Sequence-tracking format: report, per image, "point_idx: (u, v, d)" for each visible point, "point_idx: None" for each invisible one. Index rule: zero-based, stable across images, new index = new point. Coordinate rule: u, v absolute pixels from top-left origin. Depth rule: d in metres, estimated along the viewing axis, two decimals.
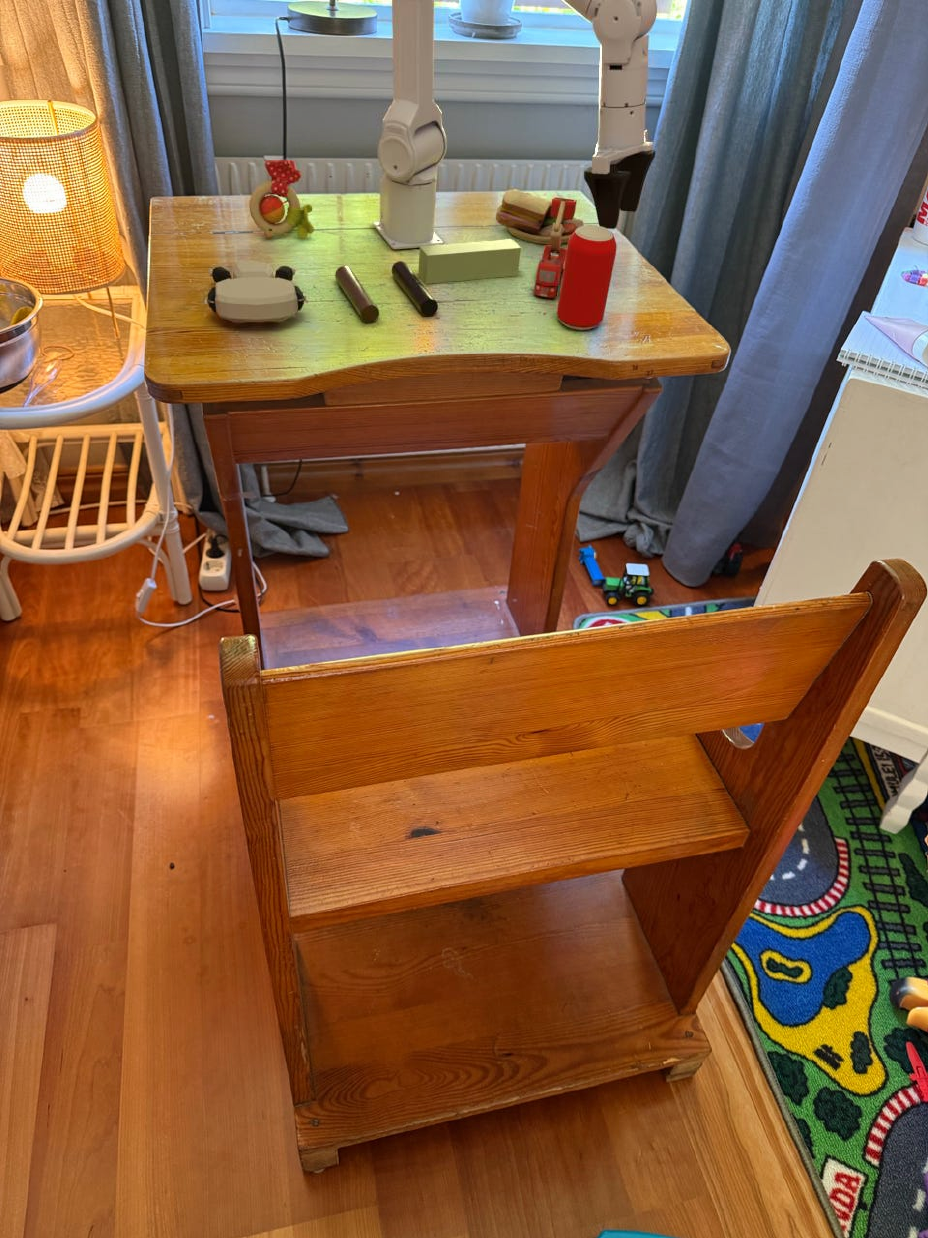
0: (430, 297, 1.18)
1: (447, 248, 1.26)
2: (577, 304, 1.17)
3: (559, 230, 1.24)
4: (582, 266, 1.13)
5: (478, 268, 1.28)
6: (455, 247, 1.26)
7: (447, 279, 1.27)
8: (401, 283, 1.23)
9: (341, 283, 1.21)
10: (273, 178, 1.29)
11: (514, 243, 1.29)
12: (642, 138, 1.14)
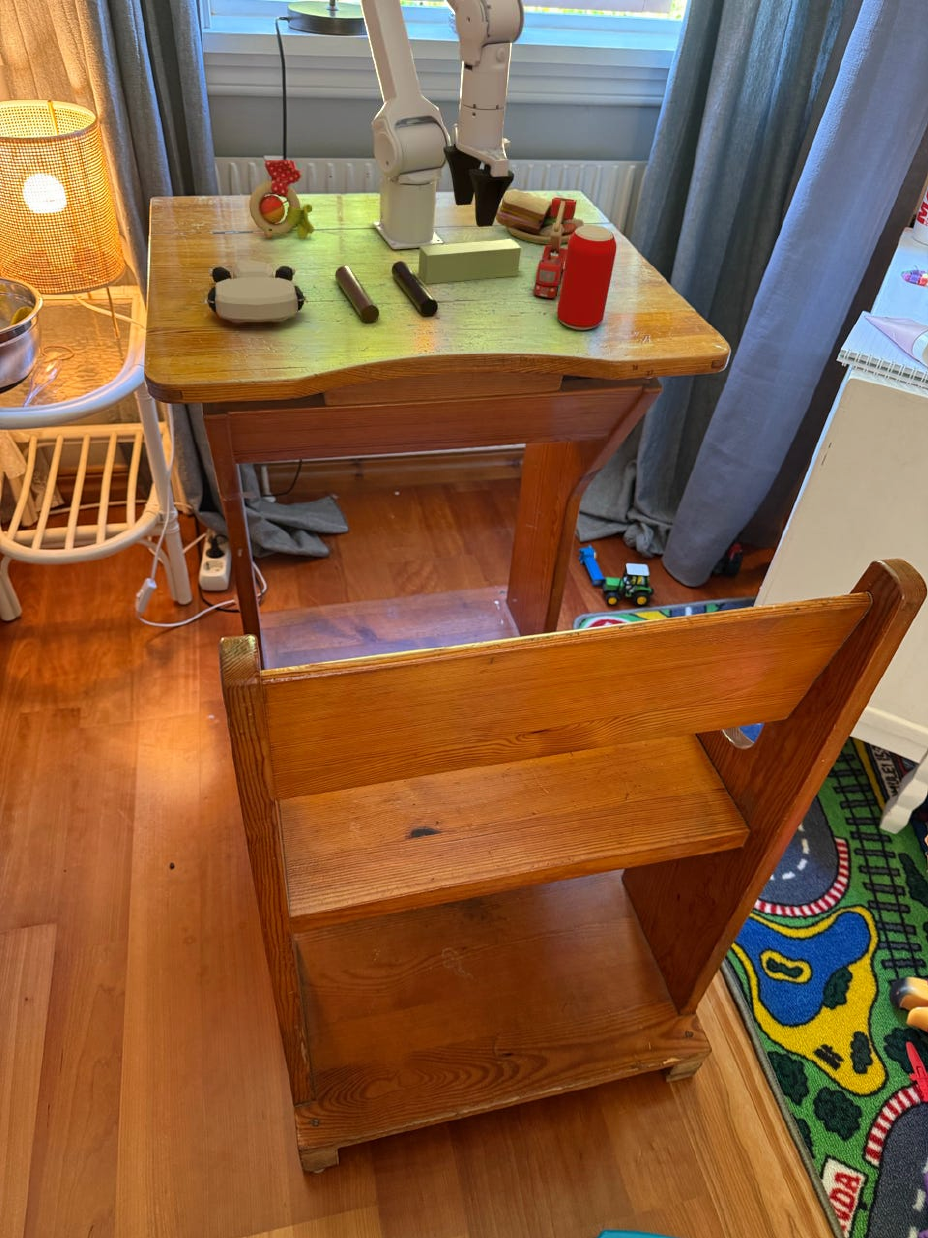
0: (430, 297, 1.18)
1: (447, 248, 1.26)
2: (577, 304, 1.17)
3: (559, 230, 1.24)
4: (582, 266, 1.13)
5: (478, 268, 1.28)
6: (455, 247, 1.26)
7: (447, 279, 1.27)
8: (401, 283, 1.23)
9: (341, 283, 1.21)
10: (273, 178, 1.29)
11: (514, 243, 1.29)
12: None
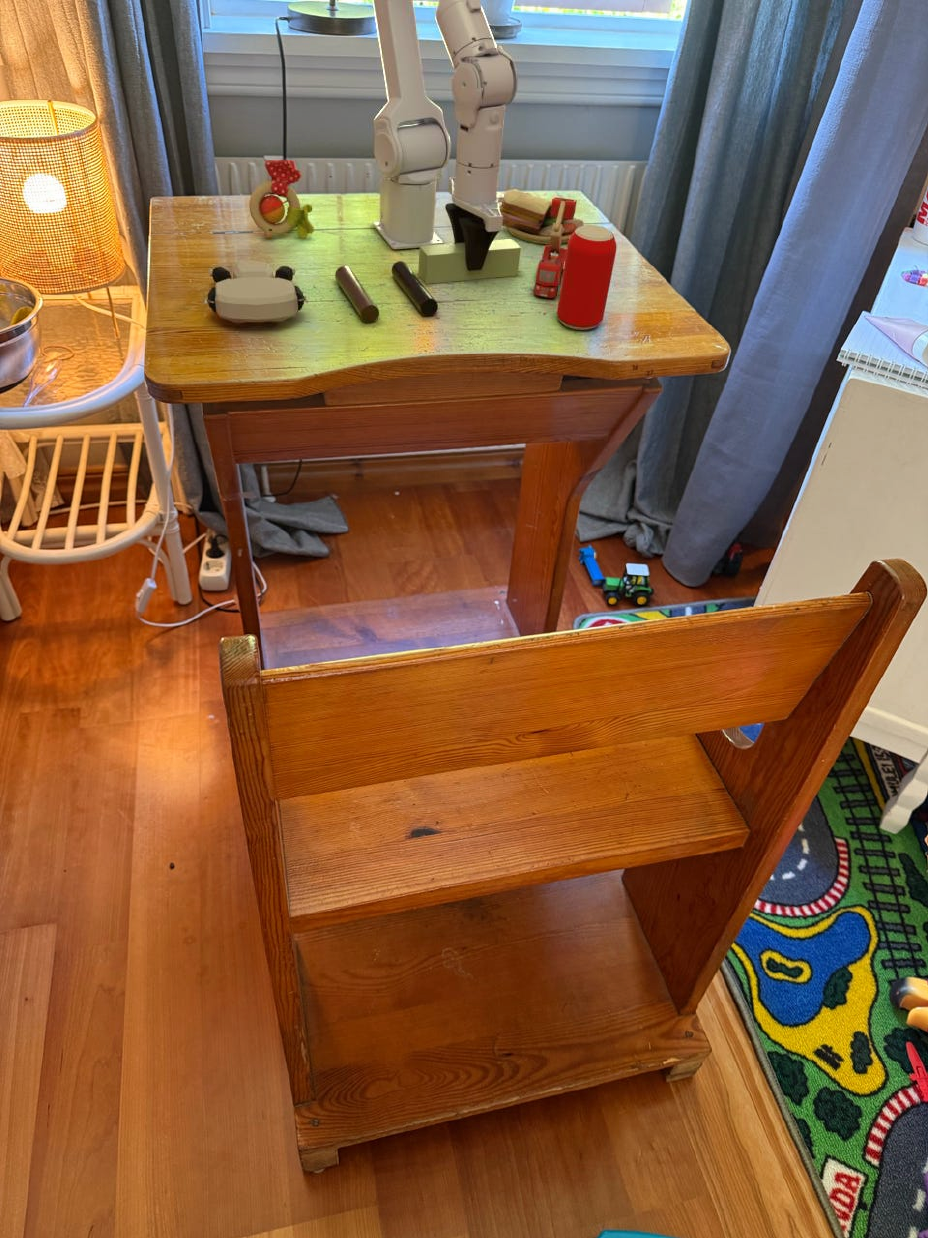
0: (430, 297, 1.18)
1: (447, 248, 1.26)
2: (577, 304, 1.17)
3: (559, 230, 1.24)
4: (582, 266, 1.13)
5: None
6: (455, 247, 1.26)
7: (447, 279, 1.27)
8: (401, 283, 1.23)
9: (341, 283, 1.21)
10: (273, 178, 1.29)
11: (514, 243, 1.29)
12: None
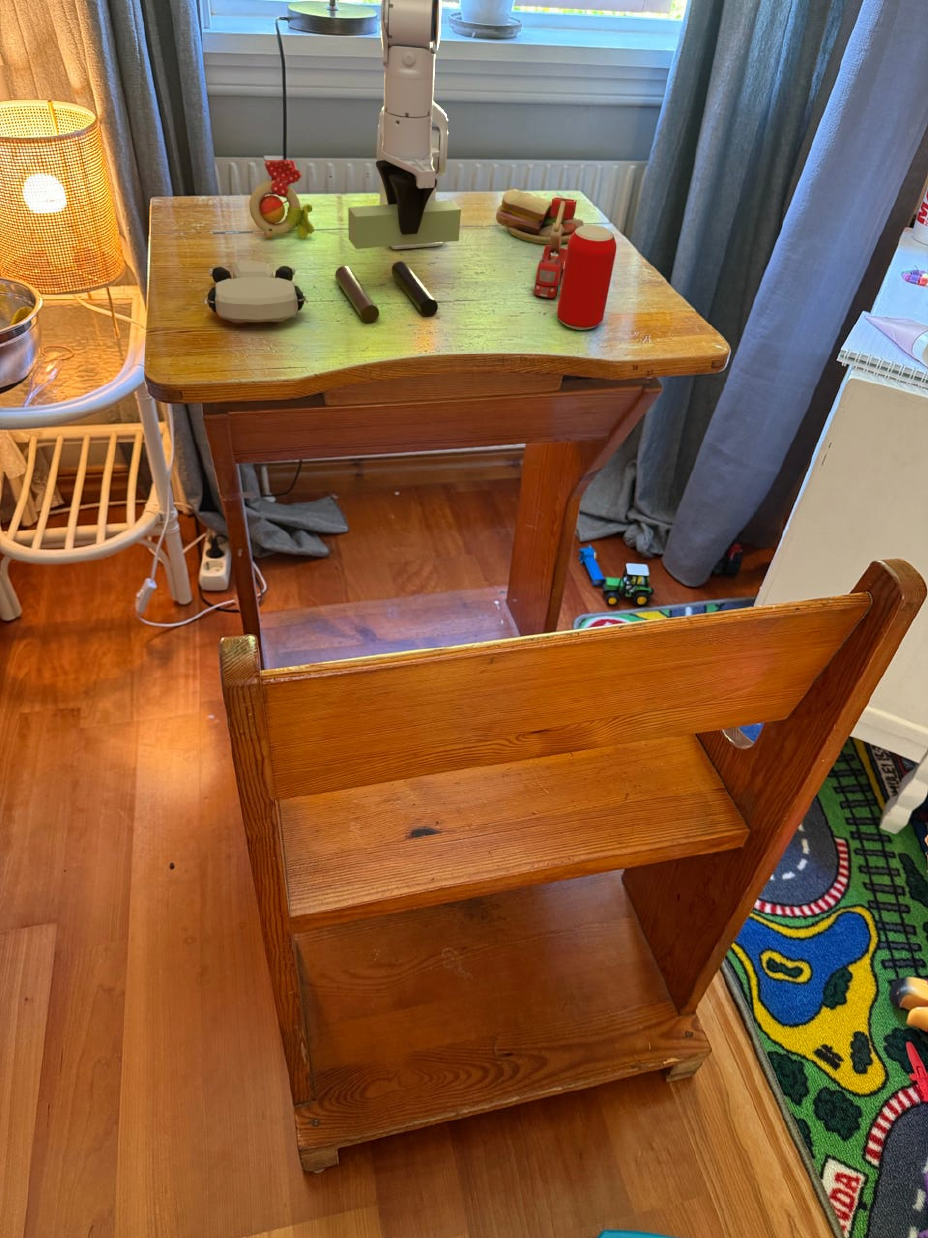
0: (430, 297, 1.18)
1: (378, 209, 1.15)
2: (577, 304, 1.17)
3: (559, 230, 1.24)
4: (582, 266, 1.13)
5: None
6: (388, 208, 1.15)
7: (379, 244, 1.16)
8: (401, 283, 1.23)
9: (341, 283, 1.21)
10: (273, 178, 1.29)
11: (454, 205, 1.18)
12: None
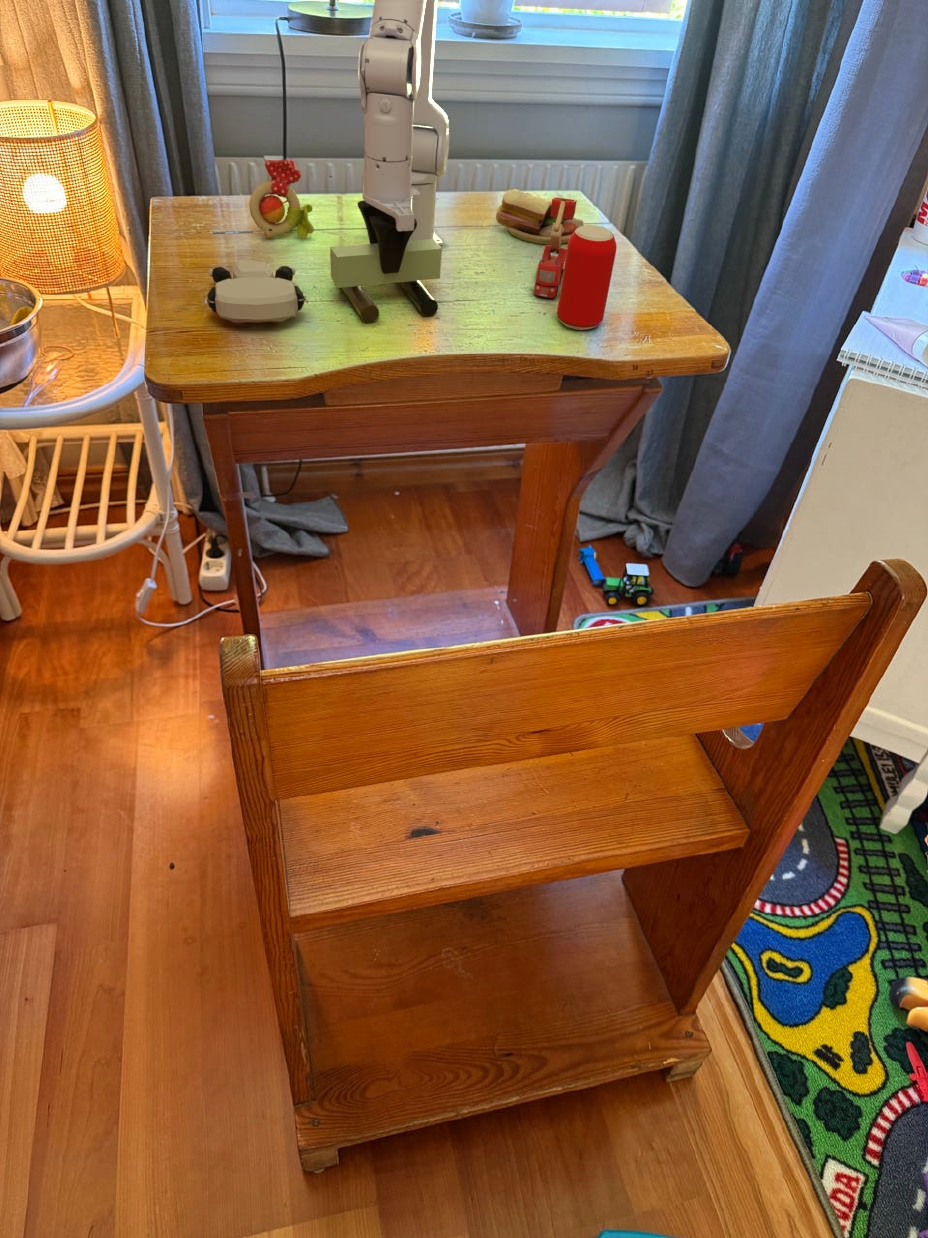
0: (430, 297, 1.18)
1: (360, 249, 1.16)
2: (577, 304, 1.17)
3: (559, 230, 1.24)
4: (582, 266, 1.13)
5: None
6: (369, 248, 1.17)
7: (361, 282, 1.18)
8: (401, 283, 1.23)
9: None
10: (273, 178, 1.29)
11: (435, 244, 1.19)
12: None
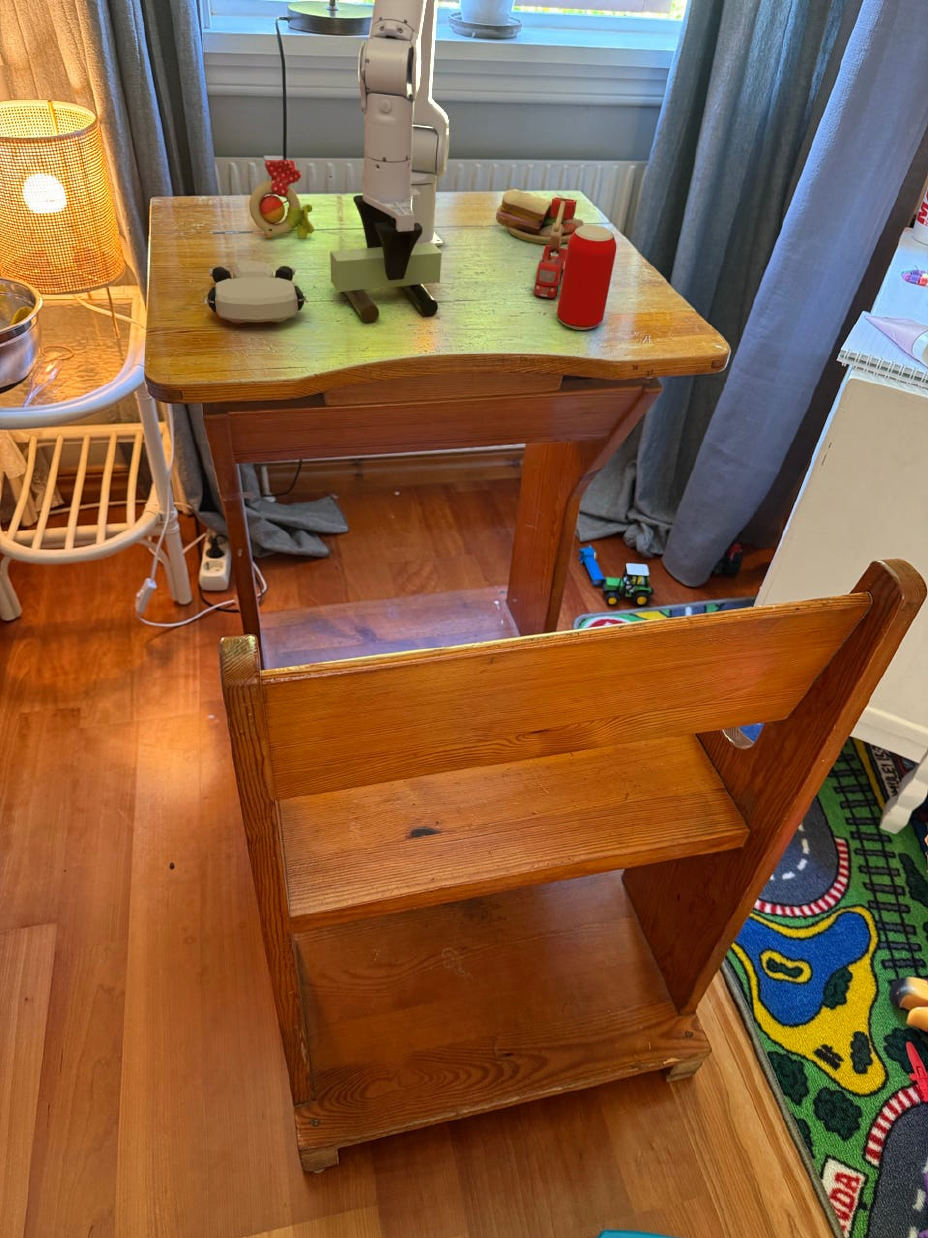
0: (430, 297, 1.18)
1: (360, 253, 1.17)
2: (577, 304, 1.17)
3: (559, 230, 1.24)
4: (582, 266, 1.13)
5: None
6: (369, 252, 1.17)
7: (361, 286, 1.18)
8: None
9: None
10: (273, 178, 1.29)
11: (435, 248, 1.20)
12: None
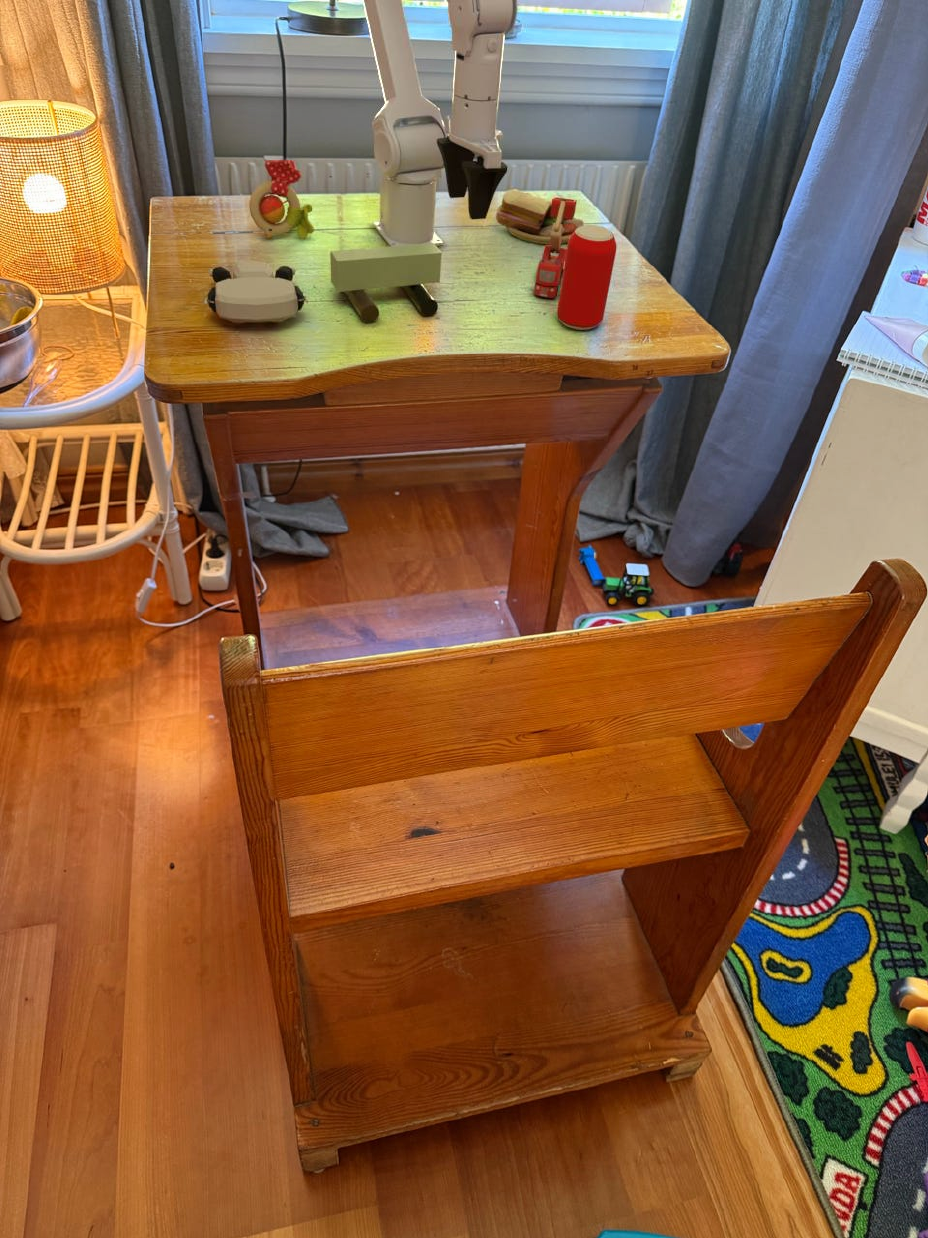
0: (430, 297, 1.18)
1: (360, 253, 1.17)
2: (577, 304, 1.17)
3: (559, 230, 1.24)
4: (582, 266, 1.13)
5: (395, 275, 1.19)
6: (369, 252, 1.17)
7: (361, 286, 1.18)
8: None
9: None
10: (273, 178, 1.29)
11: (435, 248, 1.20)
12: None
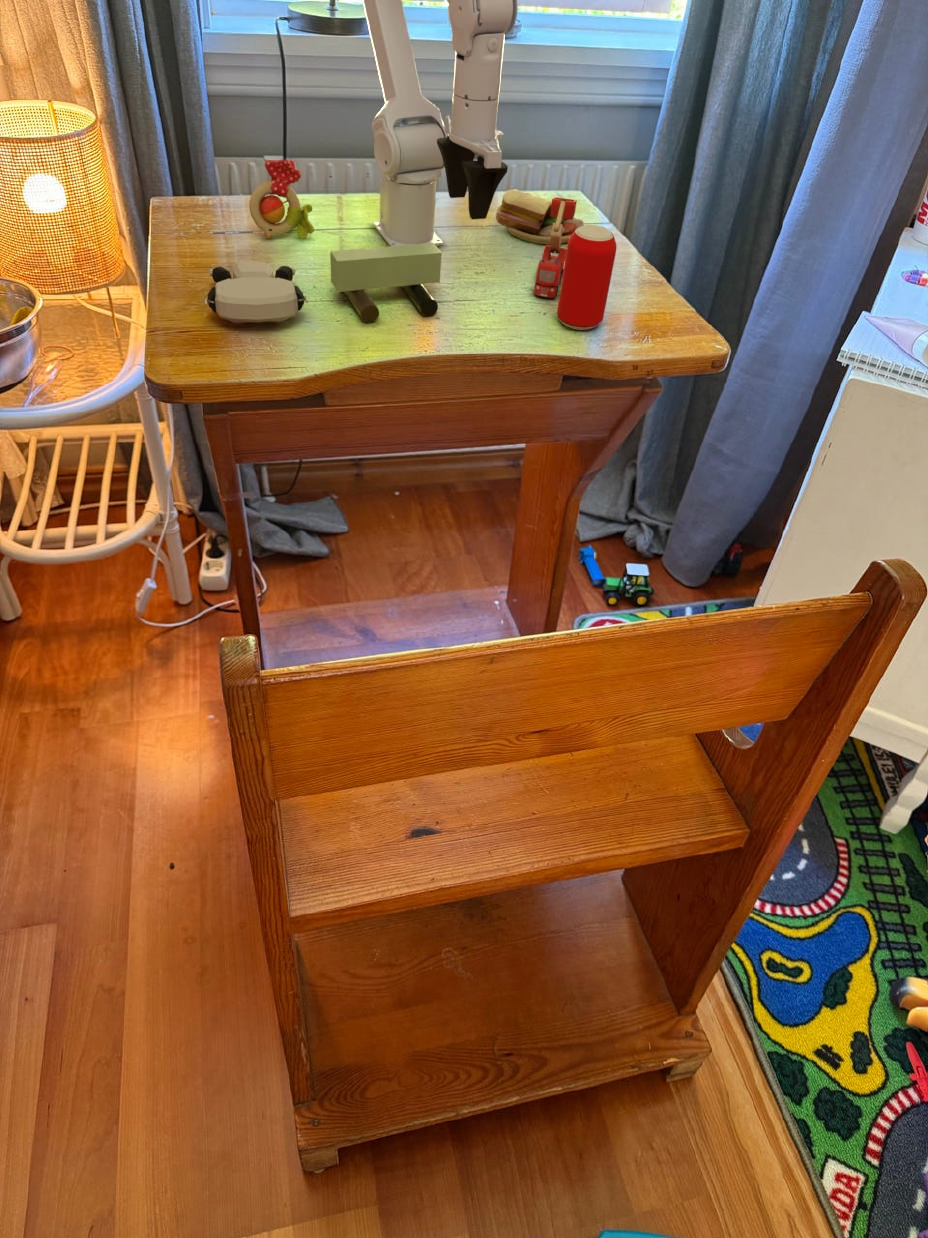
0: (430, 297, 1.18)
1: (360, 253, 1.17)
2: (577, 304, 1.17)
3: (559, 230, 1.24)
4: (582, 266, 1.13)
5: (395, 275, 1.19)
6: (369, 252, 1.17)
7: (361, 286, 1.18)
8: None
9: None
10: (273, 178, 1.29)
11: (435, 248, 1.20)
12: None
